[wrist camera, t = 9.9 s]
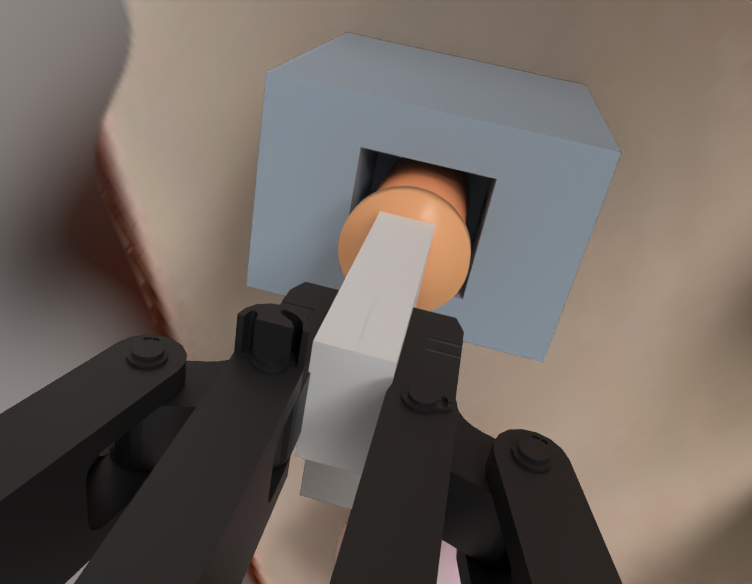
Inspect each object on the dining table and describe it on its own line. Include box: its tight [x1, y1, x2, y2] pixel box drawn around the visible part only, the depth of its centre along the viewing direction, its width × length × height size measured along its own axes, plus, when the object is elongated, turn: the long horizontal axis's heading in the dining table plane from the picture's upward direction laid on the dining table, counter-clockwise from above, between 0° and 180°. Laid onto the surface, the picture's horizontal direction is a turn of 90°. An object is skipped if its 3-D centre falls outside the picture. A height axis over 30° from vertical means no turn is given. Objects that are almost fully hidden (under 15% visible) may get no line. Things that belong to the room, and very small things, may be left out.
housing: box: [246, 32, 621, 362], centre depth 24 cm, size 7×10×10 cm
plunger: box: [338, 157, 471, 311], centre depth 20 cm, size 4×4×5 cm
